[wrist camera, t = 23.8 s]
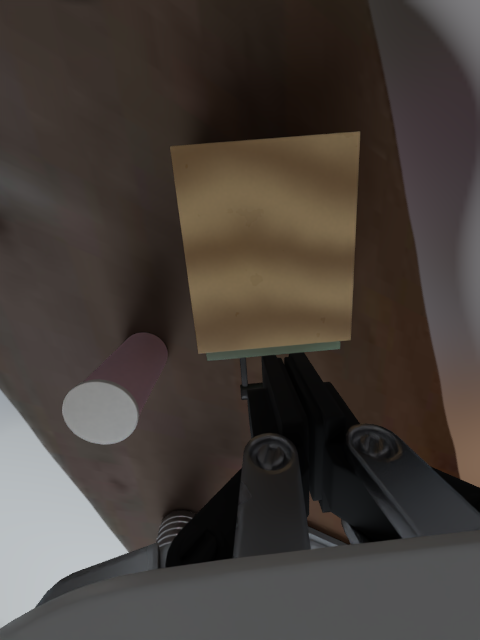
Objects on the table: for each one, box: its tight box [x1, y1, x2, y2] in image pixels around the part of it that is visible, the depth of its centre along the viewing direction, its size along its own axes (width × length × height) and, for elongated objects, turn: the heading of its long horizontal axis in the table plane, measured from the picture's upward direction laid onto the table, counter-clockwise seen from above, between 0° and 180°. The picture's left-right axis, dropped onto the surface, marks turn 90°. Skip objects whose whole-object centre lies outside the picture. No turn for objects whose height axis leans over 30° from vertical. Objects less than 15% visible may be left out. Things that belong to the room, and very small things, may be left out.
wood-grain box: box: [170, 131, 360, 354], centre depth 26 cm, size 17×14×9 cm
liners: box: [62, 332, 168, 444], centre depth 27 cm, size 6×6×12 cm
